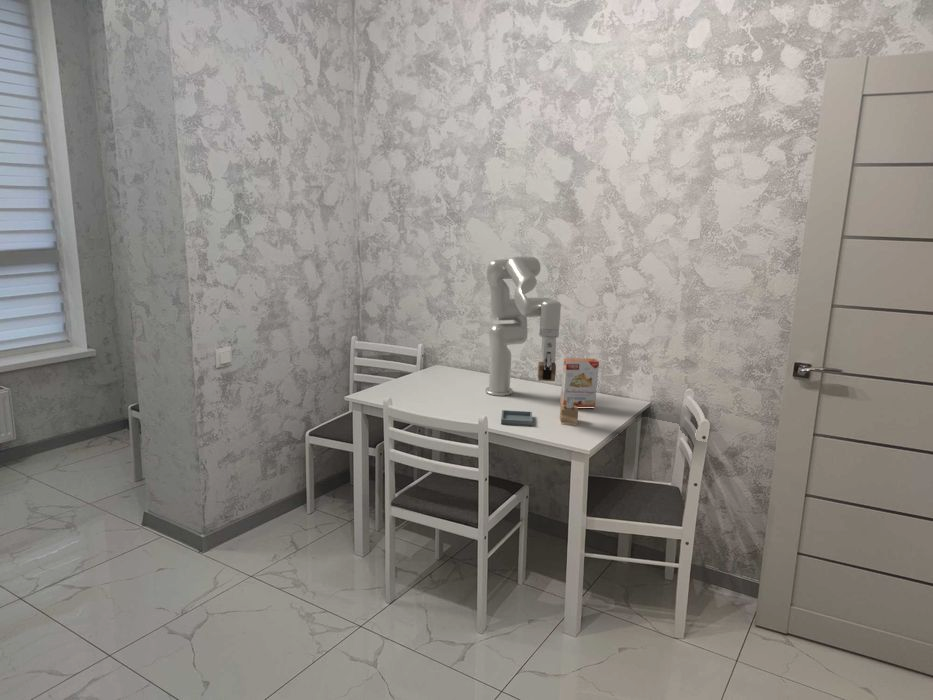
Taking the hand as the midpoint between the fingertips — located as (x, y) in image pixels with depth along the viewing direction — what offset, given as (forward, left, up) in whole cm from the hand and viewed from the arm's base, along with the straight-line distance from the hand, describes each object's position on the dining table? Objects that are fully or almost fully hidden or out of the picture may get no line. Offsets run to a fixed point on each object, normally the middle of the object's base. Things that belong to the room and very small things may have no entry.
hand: (546, 376), depth 252 cm
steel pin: (+2, +10, -17) cm, 19 cm away
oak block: (+2, +10, -18) cm, 20 cm away
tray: (+4, -11, -17) cm, 21 cm away
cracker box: (-19, +15, -18) cm, 30 cm away
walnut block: (0, 0, -1) cm, 1 cm away
